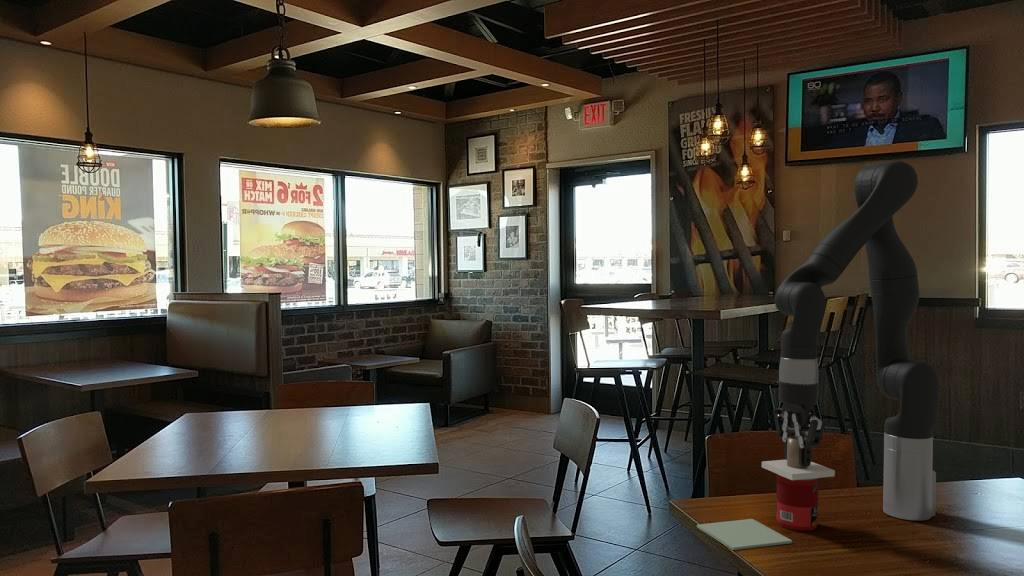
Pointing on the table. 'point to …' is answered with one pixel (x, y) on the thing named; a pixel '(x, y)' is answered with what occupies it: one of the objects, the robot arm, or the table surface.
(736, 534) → the mat
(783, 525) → the canned food
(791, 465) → the lid
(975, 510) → the table surface
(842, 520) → the table surface
